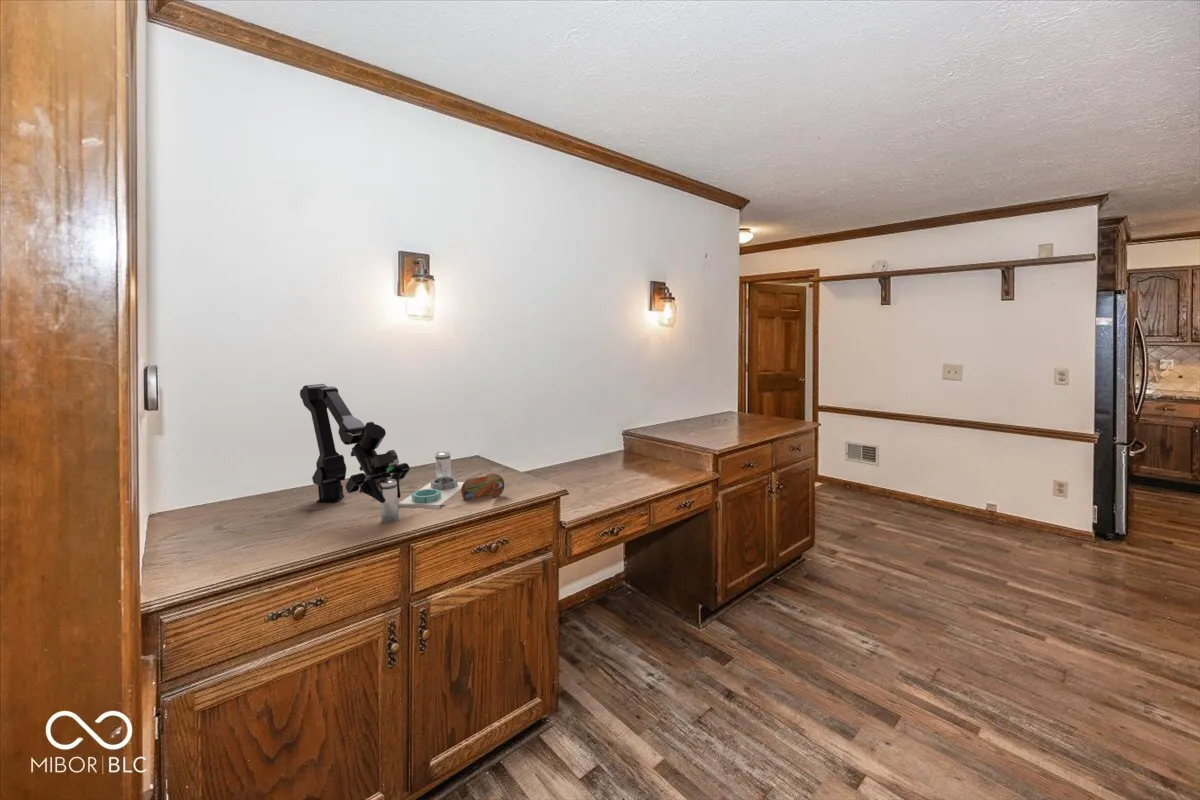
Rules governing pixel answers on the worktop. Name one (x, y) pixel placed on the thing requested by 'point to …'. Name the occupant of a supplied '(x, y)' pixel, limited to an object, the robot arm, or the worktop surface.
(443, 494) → the pallet
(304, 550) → the worktop surface
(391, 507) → the cylinder
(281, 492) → the worktop surface
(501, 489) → the tin
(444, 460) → the clear lidded jar
